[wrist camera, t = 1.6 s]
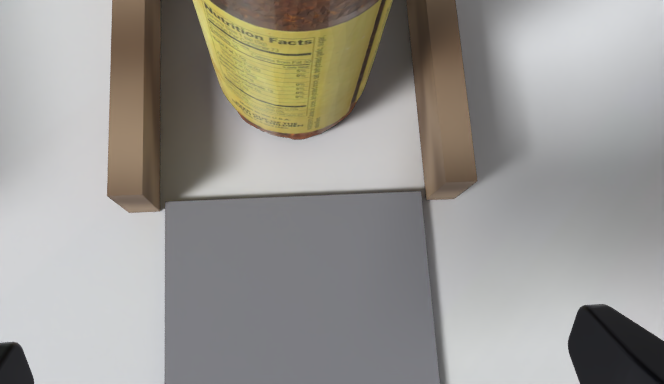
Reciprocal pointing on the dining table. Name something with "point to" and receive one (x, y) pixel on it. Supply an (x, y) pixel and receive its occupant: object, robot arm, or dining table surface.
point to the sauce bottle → (292, 58)
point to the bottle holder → (144, 102)
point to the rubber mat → (299, 291)
